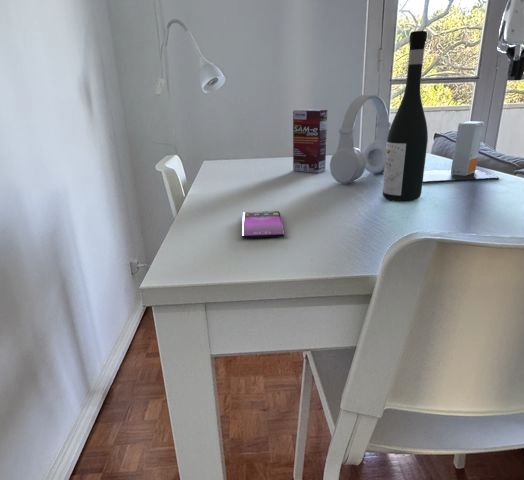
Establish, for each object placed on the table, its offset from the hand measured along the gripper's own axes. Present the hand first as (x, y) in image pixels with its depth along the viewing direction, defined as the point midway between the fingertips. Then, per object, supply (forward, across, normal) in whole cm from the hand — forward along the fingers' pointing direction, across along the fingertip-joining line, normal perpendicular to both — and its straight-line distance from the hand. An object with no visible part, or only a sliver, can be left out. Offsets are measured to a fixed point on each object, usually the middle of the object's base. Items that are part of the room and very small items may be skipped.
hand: (514, 80), depth 111 cm
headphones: (+22, -34, +4) cm, 40 cm away
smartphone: (+22, -62, -39) cm, 77 cm away
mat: (+21, -14, 0) cm, 25 cm away
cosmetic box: (+21, -8, 0) cm, 23 cm away
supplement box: (+22, -46, +19) cm, 54 cm away
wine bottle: (+22, -32, -22) cm, 44 cm away
